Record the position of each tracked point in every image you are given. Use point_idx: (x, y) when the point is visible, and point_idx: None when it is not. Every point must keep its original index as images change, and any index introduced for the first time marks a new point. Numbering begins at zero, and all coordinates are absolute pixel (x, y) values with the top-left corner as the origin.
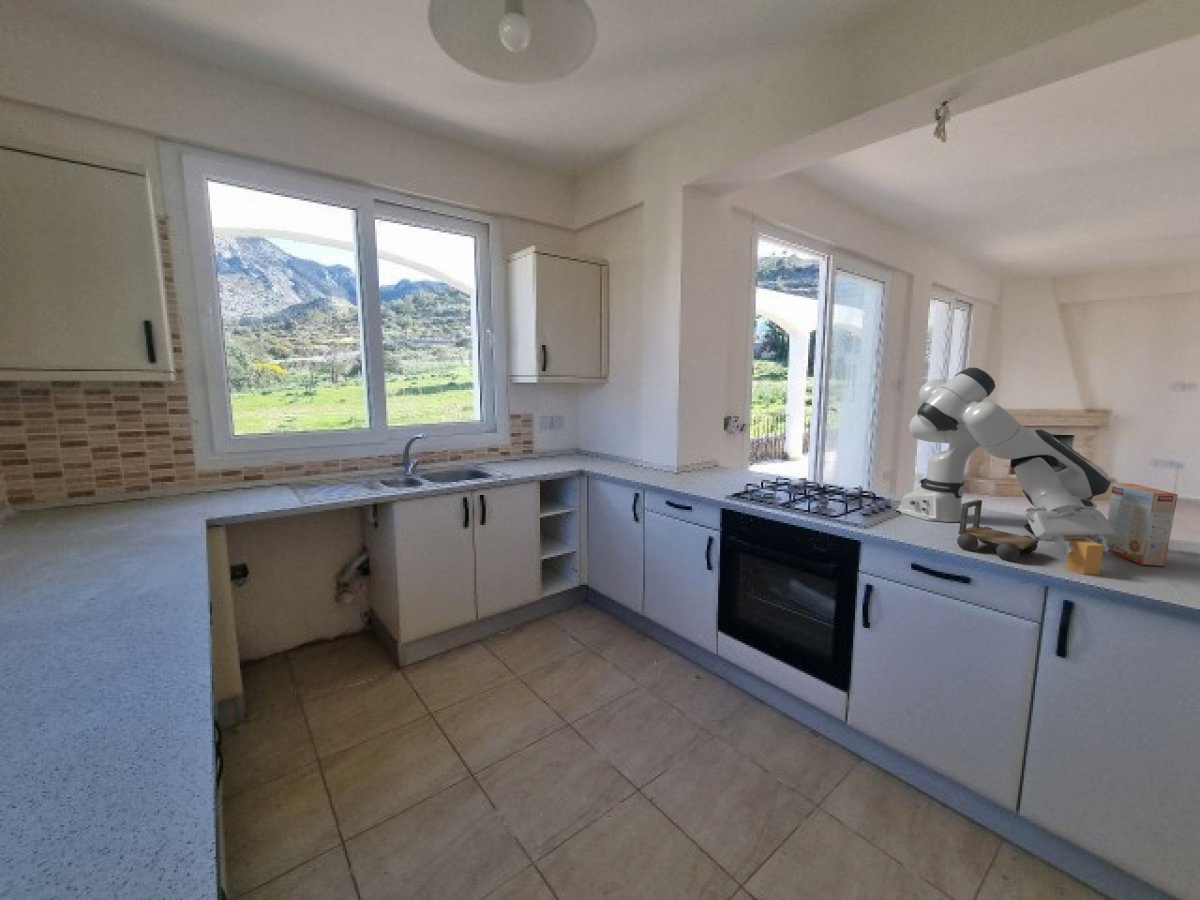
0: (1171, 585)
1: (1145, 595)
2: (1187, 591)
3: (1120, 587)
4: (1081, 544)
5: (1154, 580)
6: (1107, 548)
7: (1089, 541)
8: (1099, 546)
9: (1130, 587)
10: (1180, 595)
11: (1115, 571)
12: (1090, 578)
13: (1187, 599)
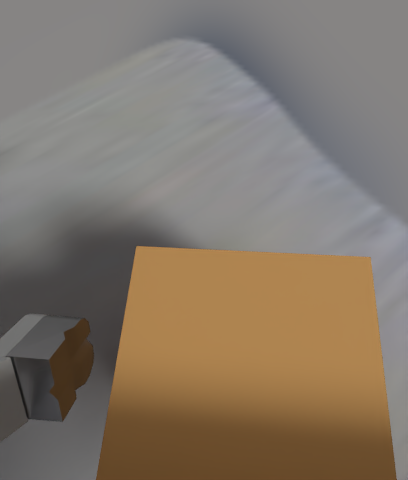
0: (10, 160)
1: (255, 89)
2: (33, 111)
3: (273, 157)
4: (374, 342)
5: (4, 211)
6: (19, 323)
7: (137, 423)
8: (192, 255)
9: (224, 154)
10: (112, 85)
11: None
12: None
13: (134, 60)
